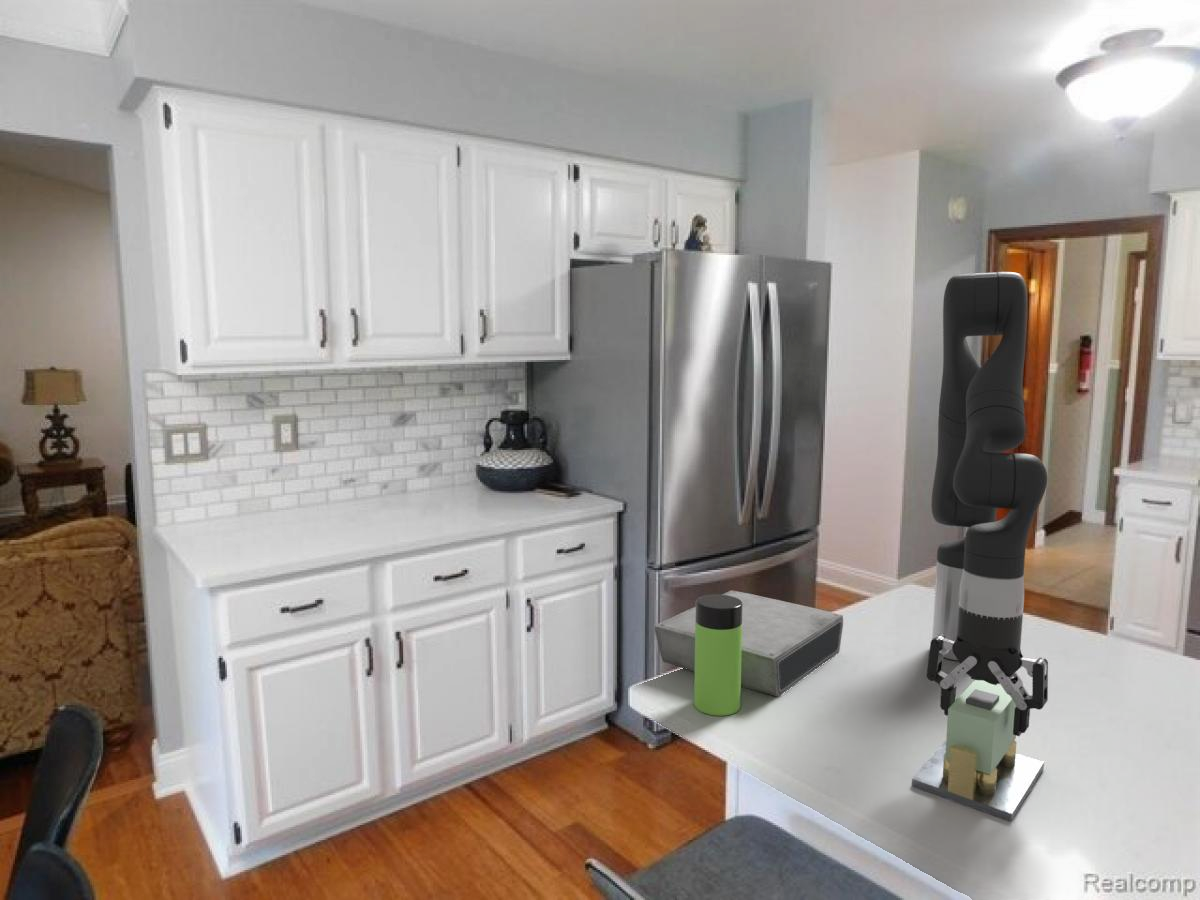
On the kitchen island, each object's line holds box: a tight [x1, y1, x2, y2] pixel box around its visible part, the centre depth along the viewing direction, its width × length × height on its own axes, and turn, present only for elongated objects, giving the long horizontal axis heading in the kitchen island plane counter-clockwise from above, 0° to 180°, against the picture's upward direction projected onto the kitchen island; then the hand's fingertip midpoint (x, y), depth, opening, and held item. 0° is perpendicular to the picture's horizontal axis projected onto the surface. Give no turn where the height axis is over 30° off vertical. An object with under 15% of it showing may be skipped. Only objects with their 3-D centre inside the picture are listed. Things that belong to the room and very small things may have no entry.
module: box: [945, 680, 1016, 775], centre depth 106 cm, size 12×6×8 cm, turn 140°
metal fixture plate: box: [911, 739, 1045, 822], centre depth 107 cm, size 16×12×7 cm
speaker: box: [654, 590, 844, 698], centre depth 148 cm, size 24×8×30 cm
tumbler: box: [693, 593, 743, 717], centre depth 127 cm, size 8×8×17 cm
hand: (982, 723), depth 106 cm, fingers open, 8 cm apart
